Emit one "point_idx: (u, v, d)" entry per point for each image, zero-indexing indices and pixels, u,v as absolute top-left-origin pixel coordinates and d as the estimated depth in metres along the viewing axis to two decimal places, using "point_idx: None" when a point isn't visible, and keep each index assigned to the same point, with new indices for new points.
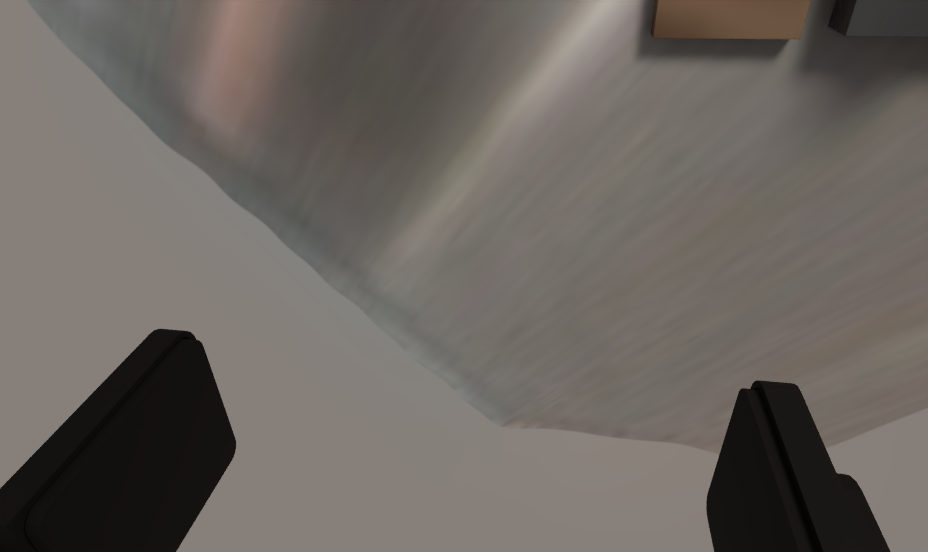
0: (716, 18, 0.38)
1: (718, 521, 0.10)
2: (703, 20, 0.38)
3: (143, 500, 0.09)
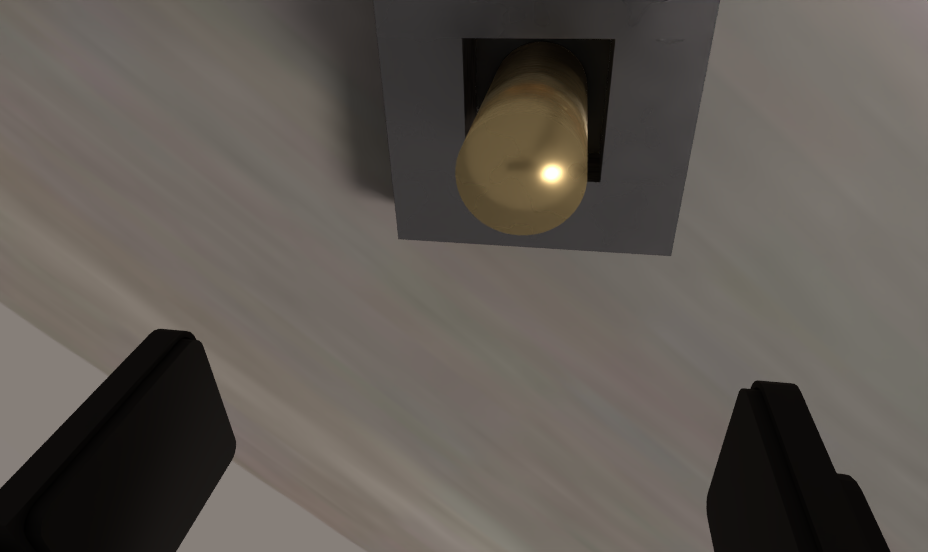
0: None
1: (718, 521, 0.10)
2: None
3: (143, 500, 0.09)
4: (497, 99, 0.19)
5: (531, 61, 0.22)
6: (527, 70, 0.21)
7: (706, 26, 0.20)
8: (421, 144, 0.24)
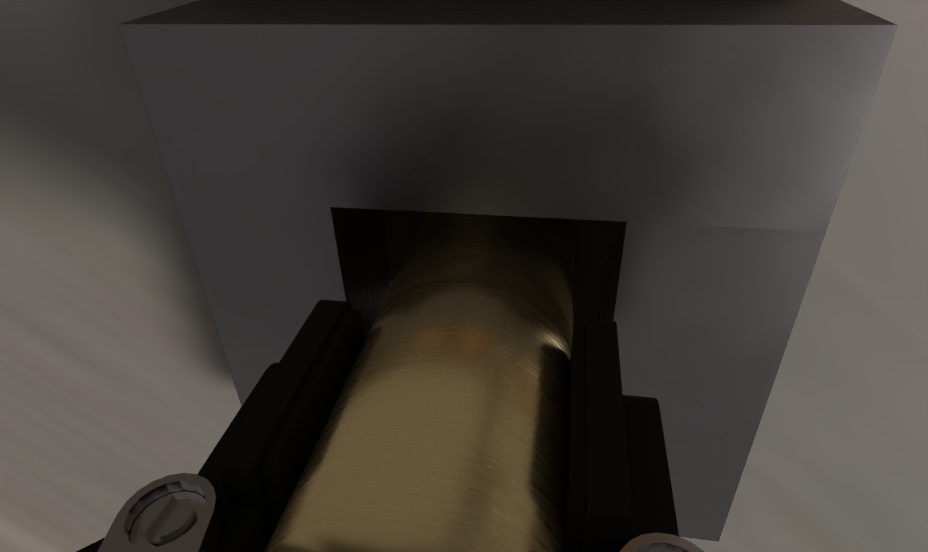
0: None
1: None
2: None
3: None
4: (363, 407, 0.08)
5: (463, 255, 0.11)
6: (449, 291, 0.10)
7: (815, 208, 0.10)
8: None
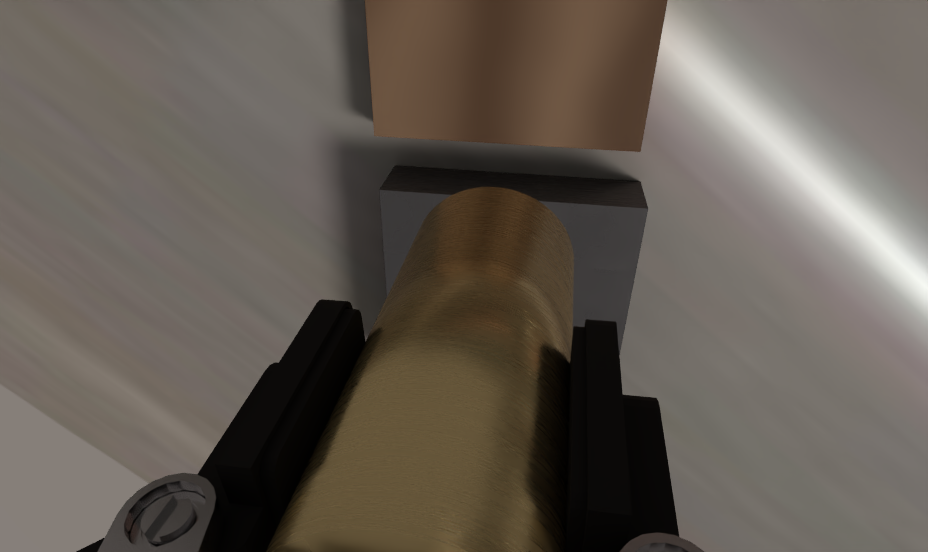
0: (393, 13, 0.24)
1: None
2: None
3: None
4: (363, 410, 0.08)
5: (463, 257, 0.11)
6: (448, 294, 0.10)
7: (631, 263, 0.27)
8: None
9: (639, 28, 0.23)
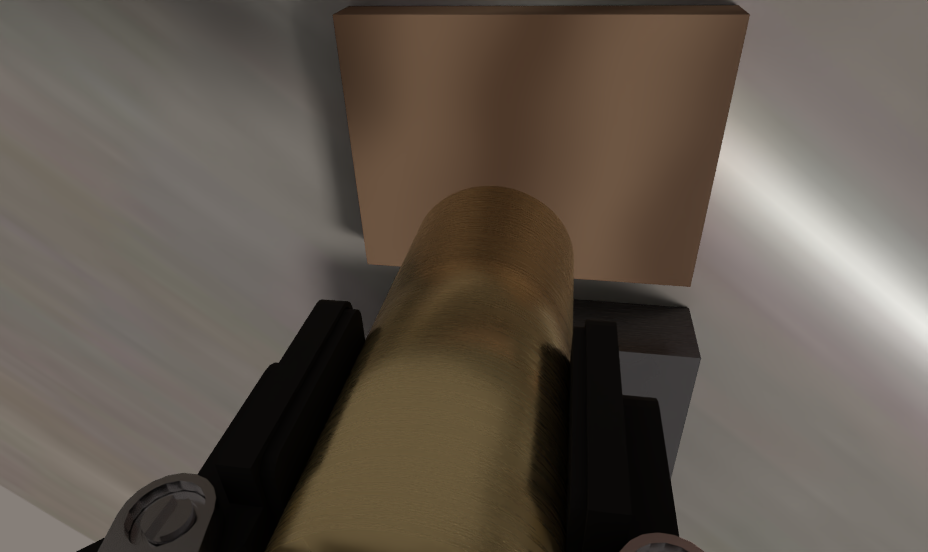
0: (382, 134, 0.20)
1: None
2: (377, 110, 0.20)
3: None
4: (362, 409, 0.08)
5: (462, 256, 0.11)
6: (448, 293, 0.10)
7: (679, 414, 0.22)
8: None
9: (690, 152, 0.18)
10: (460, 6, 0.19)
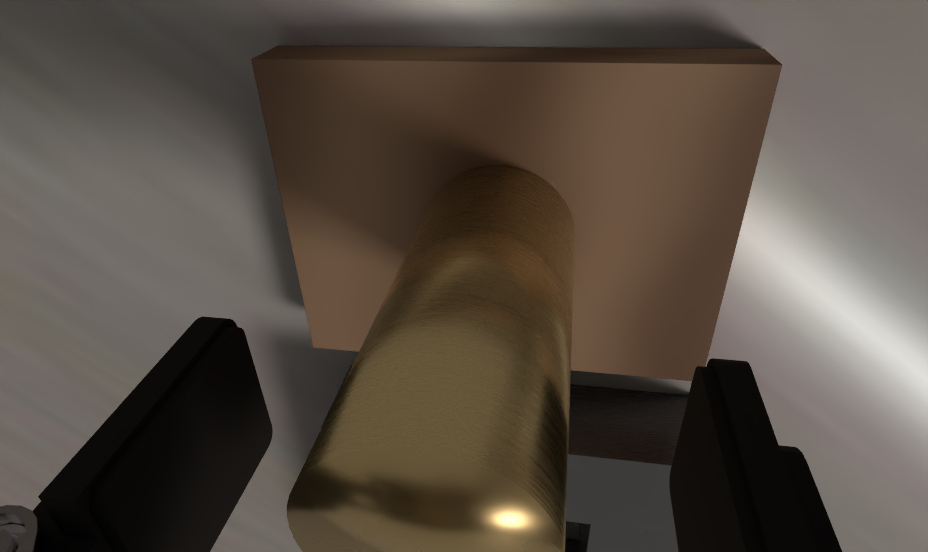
0: (322, 202, 0.16)
1: (678, 495, 0.10)
2: (314, 174, 0.16)
3: (192, 482, 0.09)
4: (383, 355, 0.09)
5: (471, 226, 0.12)
6: (459, 258, 0.11)
7: None
8: None
9: (702, 229, 0.15)
10: (414, 47, 0.15)
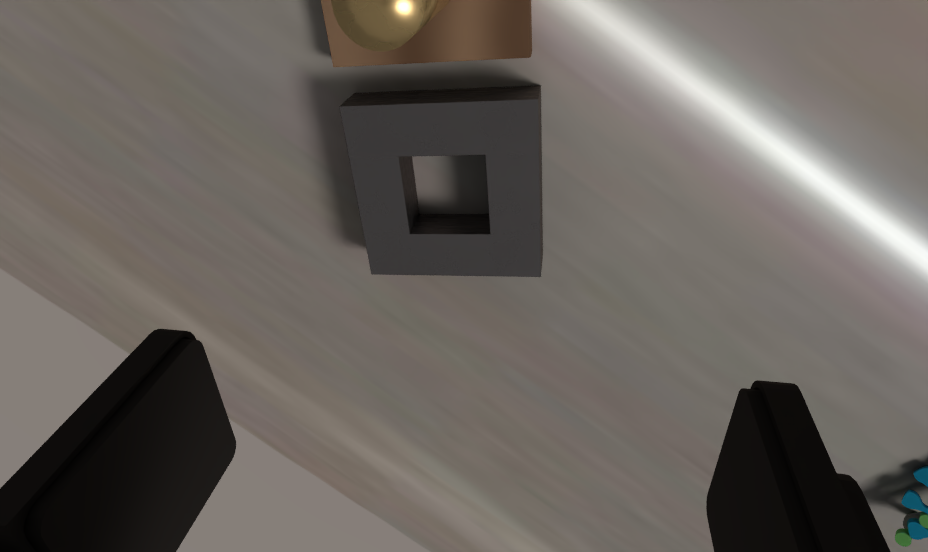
0: None
1: (718, 521, 0.10)
2: None
3: (143, 500, 0.09)
4: None
5: None
6: None
7: (534, 147, 0.35)
8: (380, 216, 0.40)
9: None
10: None
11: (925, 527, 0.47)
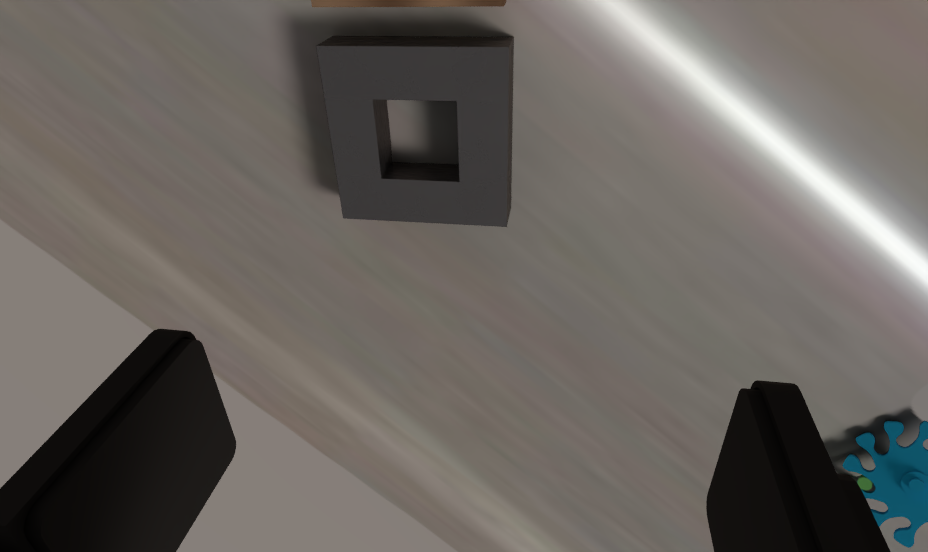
0: None
1: (718, 521, 0.10)
2: None
3: (143, 500, 0.09)
4: None
5: None
6: None
7: (503, 95, 0.37)
8: (353, 159, 0.41)
9: None
10: None
11: (862, 489, 0.49)
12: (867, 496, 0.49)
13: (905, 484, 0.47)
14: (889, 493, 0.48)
